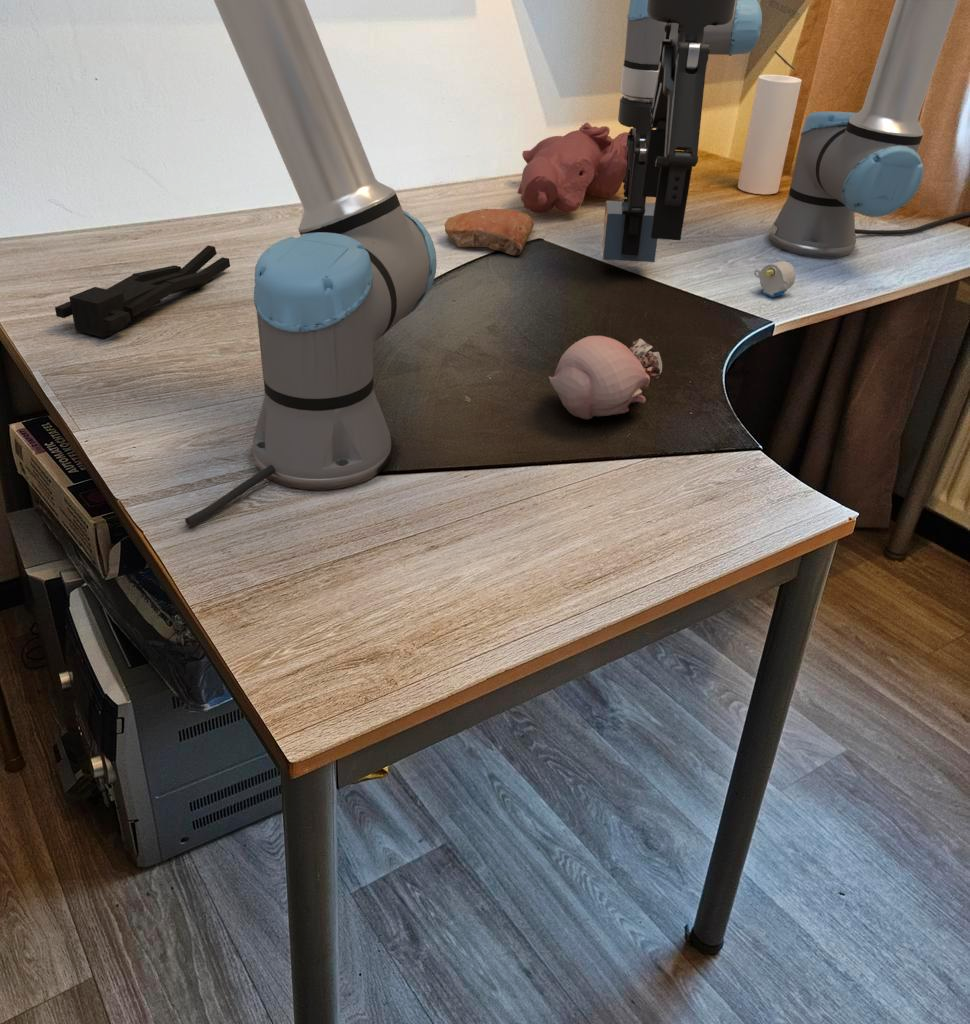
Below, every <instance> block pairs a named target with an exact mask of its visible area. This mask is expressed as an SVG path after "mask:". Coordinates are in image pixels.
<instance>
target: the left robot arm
mask: <svg viewBox="0 0 970 1024" xmlns="http://www.w3.org/2000/svg"><path fill="white" fill-rule="evenodd" d="M213 2H214V4H215V6H216V8H217V11H218V13H219V16H220V18H221V21H222V23H223V25H224V27H225V30H226V32H227V34H228V36H229V39H230V41H231V44H232V46H233V48H234V51H235V52H236V55H237V58H238V59H239V62H240V64H241V67H242V69H243V71H244V73H245V77H246V79H247V81H248V83H249V85H250V88H251V90H252V92H253V94H254V96H255V99H256V102H257V104H258V106H259V108H260V110H261V111H260V112H262V115H263V117H264V120H265V122H266V125H267V127H268V129H269V131H270V134H271V136H272V138H273V140H274V144H275V145H276V148H277V150H278V153H279V154H280V156H281V159H282V161H283V164H284V166H285V167H286V168H285V169H286V171H287V174H288V176H289V177H290V180H291V182H292V184H293V187H294V190H295V191H296V194H297V196H298V199H299V200H300V203H301V205H302V209H303V213H302V216H301V219H300V222H299V223H300V224H299V226H298V229H297V230H298V233H299V234H300V236H299V237H296V236H295V237H294V236H289V237H286V238H284V239H281V240H279V241H277V242H275V243H273V244H272V245H270V246H269V247H267V248H266V250H264V251H263V252H262V253H261V255H260V256H259V258H258V259H257V262H256V264H255V267H254V288H253V303H254V307H255V310H256V318H257V319H256V320H257V326H258V327H257V328H258V329H257V330H258V338H259V339H258V340H259V349H260V359H261V369H262V379H263V388H264V390H263V391H264V396H263V400H262V404H261V408H260V412H259V415H258V419H257V423H256V427H255V430H254V434H253V439H252V441H253V442H252V455H253V460H254V464H255V467H256V468H257V470H258V471H259V472H257V473H256V474H254V475H253V476H251V477H250V478H248V479H246V480H245V481H243V482H242V483H240V484H238V485H237V486H235V487H234V488H233V489H231V490H230V491H228V492H227V493H226V494H224V495H223V496H222V497H220V498H219V499H217V500H215V501H214V502H212V503H211V504H208V506H206V507H204V508H202V509H201V510H199V511H198V512H196V513H195V512H194V513H193V514H192V515H189V516H188V517H185V519H184V522H185V525H187V526H188V527H192V526H194V525H196V524H197V523H200V522H202V521H204V520H206V519H208V518H209V517H210V516H212V515H214V514H215V513H217V512H219V511H220V510H222V508H225V507H226V506H227V505H229V504H230V503H231V502H233V501H234V500H235V499H237V498H239V497H240V496H241V495H243V494H245V493H246V492H248V491H249V490H251V489H252V488H253V487H255V486H256V485H258V484H260V483H261V482H263V481H265V480H266V479H267V478H268V479H269V480H271V481H273V482H275V483H278V484H280V485H283V486H286V487H290V488H295V489H301V490H312V491H314V490H315V491H323V490H327V491H328V490H337V489H342V488H348V487H351V486H355V485H358V484H361V483H363V482H366V481H368V480H370V479H373V478H374V477H375V476H377V475H378V474H380V473H381V472H382V471H383V470H384V469H385V468H386V467H387V466H388V464H389V463H390V461H391V458H392V438H391V432H390V430H389V427H388V424H387V422H386V419H385V417H384V413H383V411H382V408H381V406H380V403H379V400H378V398H377V395H376V393H375V385H374V345H375V343H376V342H377V341H378V340H379V339H380V338H382V337H383V336H384V335H385V334H386V333H387V332H388V331H390V330H391V329H392V328H394V326H395V325H396V324H398V323H399V322H400V321H402V319H405V318H406V317H407V316H409V315H410V314H411V313H413V312H414V311H415V310H416V309H418V307H419V306H420V305H421V303H422V302H423V300H424V299H425V297H426V296H427V294H428V293H429V292H430V290H431V288H432V286H433V284H434V281H435V278H436V273H437V264H438V263H437V261H438V259H437V252H436V248H435V243H434V241H433V238H432V236H431V235H430V232H429V231H428V229H427V228H426V226H425V225H424V224H423V223H422V222H421V220H419V219H418V218H416V217H413V216H412V215H411V214H410V213H409V212H408V211H407V210H404V209H403V207H402V205H401V202H400V200H399V197H398V195H397V193H396V190H395V189H394V188H392V187H390V186H388V185H386V184H383V183H382V182H380V181H379V180H378V179H377V178H376V177H375V174H374V172H373V169H372V166H371V163H370V161H369V159H368V156H367V153H366V151H365V148H364V146H363V143H362V141H361V139H360V136H359V133H358V131H357V129H356V126H355V123H354V122H353V121H354V120H353V118H352V116H351V113H350V111H349V108H348V106H347V103H346V101H345V98H344V95H343V93H342V90H341V87H340V85H339V83H338V81H337V78H336V75H335V74H334V71H333V68H332V66H331V64H330V61H329V58H328V55H327V52H326V51H325V48H324V45H323V43H322V41H321V40H322V39H321V38H320V35H319V33H318V31H317V28H316V26H315V22H314V20H313V17H312V15H311V13H310V11H309V7H308V5H307V3H306V1H305V0H213ZM734 6H735V0H648V5H647V14H648V16H649V17H650V18H652V19H654V20H657V21H661V22H666V26H665V28H664V31H665V37H664V41H662V42H661V46H660V63H659V67H658V76H657V82H656V87H655V93H654V98H653V104H652V107H651V109H650V113H651V117H652V118H651V127H652V128H653V129H650V136H649V144H648V151H647V158H646V166H645V173H644V181H643V188H642V196H643V197H646V198H655V202H654V203H655V208H654V215H653V222H652V229H651V238H653V239H657V240H666V241H667V240H668V241H669V240H670V241H681V239H682V233H683V227H684V221H685V215H686V209H687V203H688V202H687V201H688V196H689V190H690V184H691V176H692V172H693V168H694V167H696V166H697V164H698V162H699V156H698V155H699V143H700V134H701V133H700V132H701V122H702V113H703V112H702V111H703V101H704V91H705V83H706V74H707V73H706V72H707V65H708V61H709V56H710V54H709V53H710V48H709V43H703V37H704V27H706V26H707V25H714V26H717V25H724V24H727V23H728V22H730V21H731V19H732V17H733V12H734Z"/></svg>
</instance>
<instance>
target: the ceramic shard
mask: <svg viewBox="0 0 970 1024" xmlns="http://www.w3.org/2000/svg"><path fill="white" fill-rule="evenodd" d="M534 222H535V221H534V219H533V218H532V216H530V215H529V214H527V213H525V212H523V211H520V210H516V209H508V208H481V209H476V210H471V211H468V212H463V213H459V214H457V215H453V216H451V217H448V218H447V220H446V221H445V222H444V233H445V234H446V236H447V237H448V239H449V240H450V241H451V242H452V243H455V244H456V246H457V247H461V248H462V247H463V248H465V247H476V248H478V247H482V248H483V247H484V248H489V249H491V250H494V251H500V252H502V253H505V254H506V255H507V254H508V255H510V256H514V257H515V256H519V255H520V254H522V251H523V250H524V247H525V246H526V243H527V241H528V240H529V236H530V234H531V232H532V231H533V228H534V225H535V223H534Z"/></svg>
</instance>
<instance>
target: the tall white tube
mask: <svg viewBox="0 0 970 1024" xmlns="http://www.w3.org/2000/svg"><path fill="white" fill-rule="evenodd" d="M768 6H770V7H772V8H774V7H777V8H779V7H780V8H779V9H778V10H779V12H782V13H784V14H787V15H790V16H792V19H795V18H796V21H799V19H800V17H799V16H798V15H800V13H799V12H797V14H796V11H795V10H794V9H792V8H789V7H783V4H781V5H780V3H778V2H777V1H776V0H770V2H769V5H768ZM797 16H798V17H797ZM773 53H774V54H776V56H777V57H778V58H779V59H781V61H782V62H783V63H784V64H785V65H786V66H788V68H790V69H791V70H792V71H793V72H794V71H795V68H794V67H793V66H792V65H791V64H790V63H789V62H788V61H787V60H786V59H785V58H784V57H783V56H782V55H780V53H778V52H777V50H775V51H774V52H773ZM802 80H803V79H801V78H799V77H795V76H791V75H783V74H769V73H768V74H767V73H766V74H760V75H758V76H757V82H756V87H755V91H754V97H753V102H752V108H751V113H750V119H749V124H748V128H747V129H748V130H747V134H746V139H745V145H744V150H743V156H742V161H741V166H740V172H739V177H738V182H737V188H738V189H739V190H741V191H743V192H746V193H749V194H754V195H755V194H756V195H773V194H777V193H778V192H779V190H780V185H781V180H782V176H783V171H784V166H785V162H786V157H787V151H788V148H789V142H790V138H791V133H792V128H793V123H794V119H795V115H796V109H797V104H798V100H799V96H800V91H801V86H802Z"/></svg>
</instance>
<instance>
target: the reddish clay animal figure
mask: <svg viewBox="0 0 970 1024" xmlns="http://www.w3.org/2000/svg"><path fill="white" fill-rule="evenodd" d="M610 130H611V129H610V127H608V126H607V125H605V126H604V125H602V126H600V127H598V126H592V125H591V124H590V123H589V122H585V123H584V124H581V126H580V127H579V129H576V130H573V131H570V132H568V133H566V134H565V135H554V136H549V137H546V138H544V139H542V140H540V141H539V142H538V143H536V145H535V146H534V147H532V148H531V149H529V150H523V151H522V153H521V156H522V158H523V160H524V162H525V163H526V164H525V166H524V168H523V170H522V172H521V173H522V174H521V180H520V181H521V182H520V185H519V186H518V189H517V194H518V195H520V200H521V202H522V203H523V207H524V209H525V210H529V211H530V212H532V213H535V214H546V213H549V212H551V211H552V210H553V209H554V208H555V209H556V210H557V211H559V212H560V213H564V214H569V213H573V212H575V211H578V209H579V208H581V206H582V203H584V199H585V195H591V196H593V197H596V198H599V197H604V198H606V197H608V198H610V197H613V196H614V195H617V194H618V192H619V191H620V189H621V186H622V184H623V185H624V184H625V175H626V166H627V160H626V154H627V135H630V134H629V132H627V131H624V132H621V133H618V135H617V136H615V137H614V138H612V137H611V136H610V135H609V134H610Z"/></svg>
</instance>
